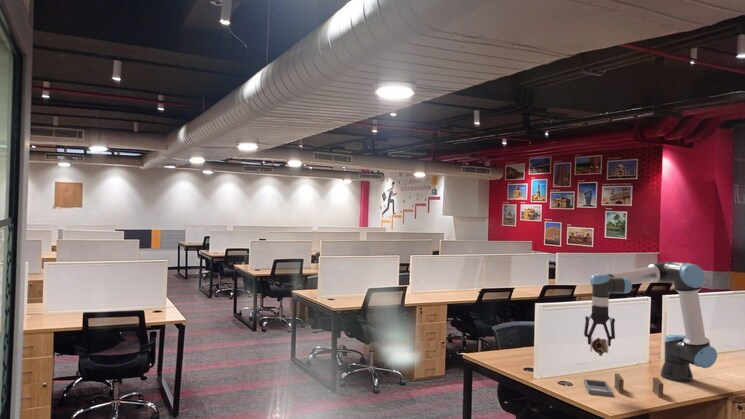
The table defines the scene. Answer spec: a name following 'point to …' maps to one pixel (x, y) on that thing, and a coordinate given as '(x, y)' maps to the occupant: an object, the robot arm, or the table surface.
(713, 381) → the table surface
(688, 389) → the table surface
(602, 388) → the tray
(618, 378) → the cradle
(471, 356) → the table surface
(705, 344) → the robot arm
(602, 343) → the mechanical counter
